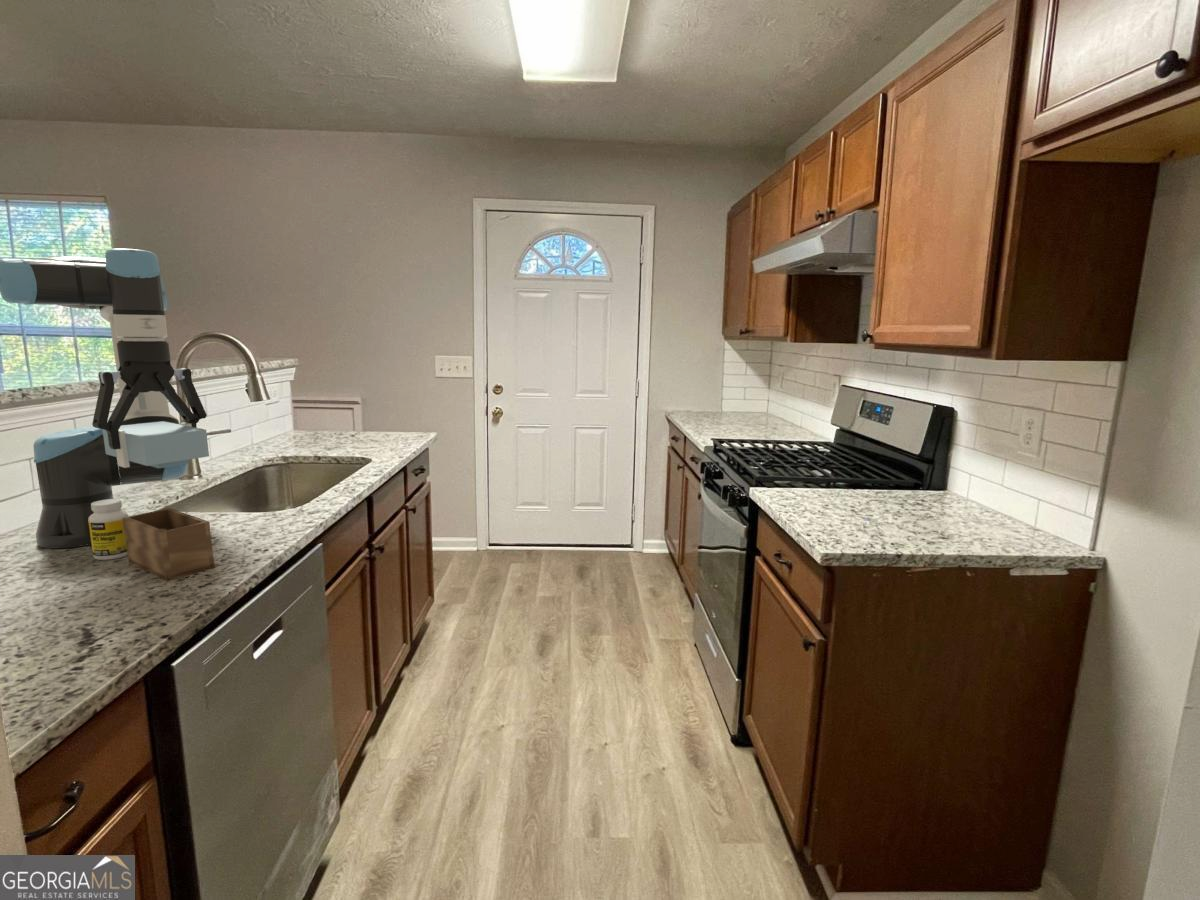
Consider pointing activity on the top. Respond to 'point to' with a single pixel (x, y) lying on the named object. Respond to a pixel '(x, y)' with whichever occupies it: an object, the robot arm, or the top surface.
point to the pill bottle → (107, 529)
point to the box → (168, 543)
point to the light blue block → (162, 443)
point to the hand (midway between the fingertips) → (158, 461)
